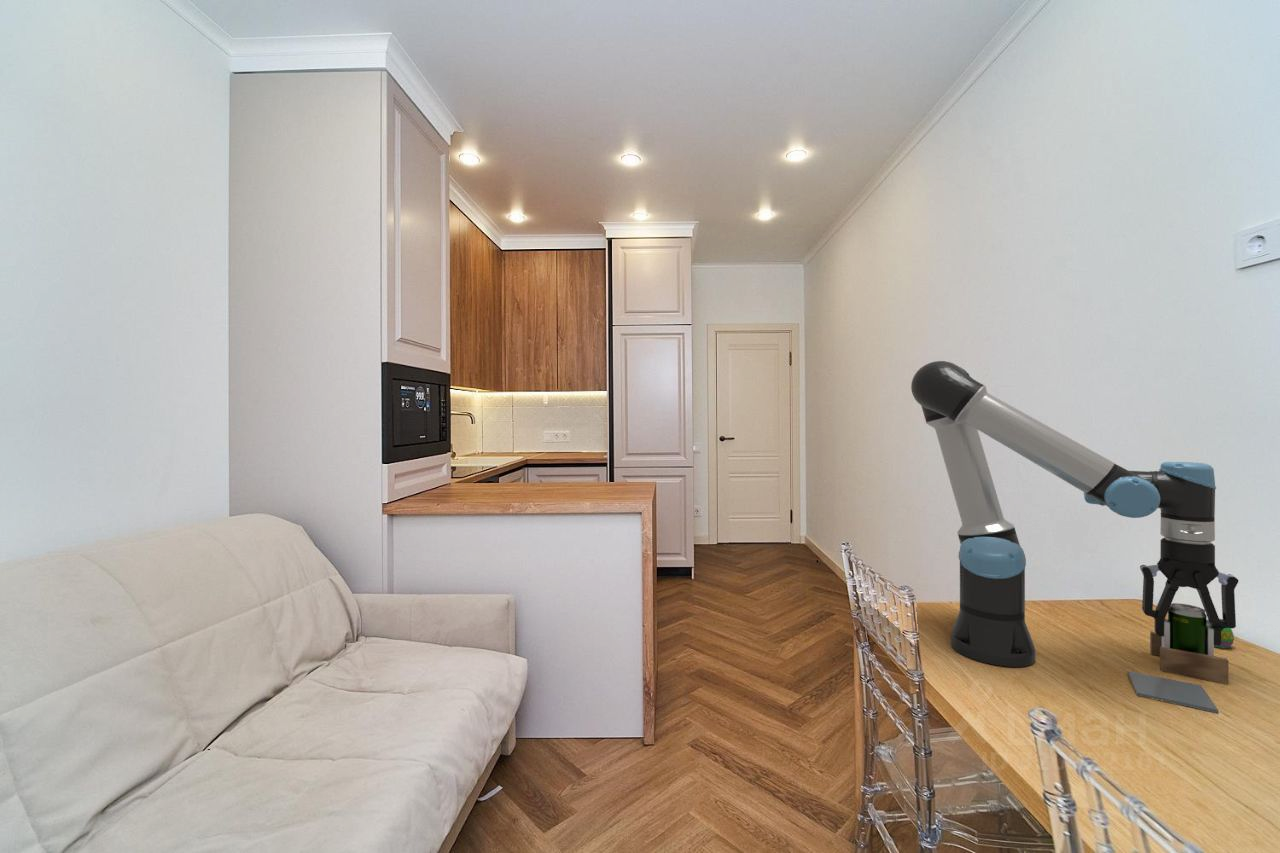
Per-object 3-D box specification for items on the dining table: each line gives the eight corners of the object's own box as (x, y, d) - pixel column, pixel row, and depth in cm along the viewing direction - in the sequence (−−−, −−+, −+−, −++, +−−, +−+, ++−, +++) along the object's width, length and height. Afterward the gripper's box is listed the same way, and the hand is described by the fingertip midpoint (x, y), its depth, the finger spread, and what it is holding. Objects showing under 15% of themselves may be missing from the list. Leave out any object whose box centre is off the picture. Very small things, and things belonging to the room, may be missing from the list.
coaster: (1137, 695, 94) (1137, 692, 94) (1127, 673, 102) (1127, 670, 102) (1218, 713, 88) (1218, 709, 88) (1201, 688, 97) (1201, 685, 97)
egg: (1210, 639, 118) (1210, 613, 118) (1240, 648, 113) (1240, 621, 113) (1194, 641, 117) (1194, 614, 116) (1223, 651, 112) (1223, 623, 112)
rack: (1161, 671, 103) (1161, 648, 103) (1150, 652, 112) (1150, 631, 111) (1228, 684, 98) (1228, 660, 98) (1211, 663, 106) (1211, 641, 106)
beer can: (1203, 676, 101) (1203, 614, 101) (1164, 665, 105) (1164, 606, 105) (1209, 669, 104) (1209, 608, 104) (1171, 658, 108) (1171, 601, 108)
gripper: (1127, 537, 107) (1127, 651, 107) (1263, 550, 96) (1263, 676, 96) (1121, 531, 113) (1121, 638, 113) (1248, 542, 102) (1248, 660, 102)
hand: (1186, 655), depth 105 cm, fingers closed on beer can, 5 cm apart
